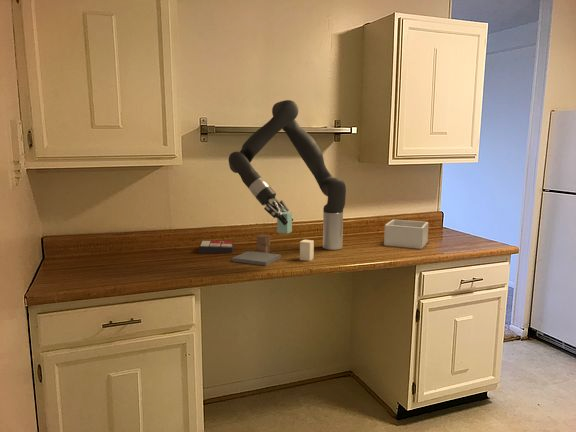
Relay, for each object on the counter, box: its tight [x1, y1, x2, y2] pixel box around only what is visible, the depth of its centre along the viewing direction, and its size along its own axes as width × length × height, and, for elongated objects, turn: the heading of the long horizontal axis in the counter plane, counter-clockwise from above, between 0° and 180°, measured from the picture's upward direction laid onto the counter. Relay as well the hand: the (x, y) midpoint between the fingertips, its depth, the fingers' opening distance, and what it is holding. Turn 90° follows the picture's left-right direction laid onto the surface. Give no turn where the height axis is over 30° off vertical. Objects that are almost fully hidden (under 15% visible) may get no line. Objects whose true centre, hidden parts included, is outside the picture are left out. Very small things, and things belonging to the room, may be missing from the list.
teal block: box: [276, 211, 293, 234], centre depth 191 cm, size 4×4×8 cm
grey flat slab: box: [231, 250, 282, 267], centre depth 201 cm, size 14×16×2 cm
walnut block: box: [256, 233, 271, 253], centre depth 213 cm, size 4×4×8 cm
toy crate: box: [383, 219, 429, 250], centre depth 233 cm, size 18×18×10 cm
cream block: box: [299, 239, 315, 262], centre depth 202 cm, size 4×4×8 cm
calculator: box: [198, 240, 235, 255], centre depth 217 cm, size 11×4×15 cm
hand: (288, 222), depth 190 cm, fingers closed on teal block, 4 cm apart
